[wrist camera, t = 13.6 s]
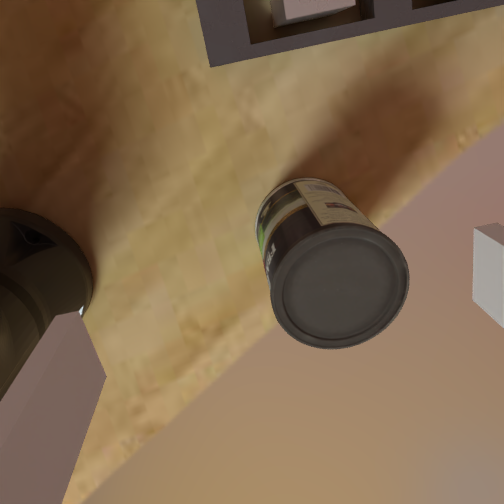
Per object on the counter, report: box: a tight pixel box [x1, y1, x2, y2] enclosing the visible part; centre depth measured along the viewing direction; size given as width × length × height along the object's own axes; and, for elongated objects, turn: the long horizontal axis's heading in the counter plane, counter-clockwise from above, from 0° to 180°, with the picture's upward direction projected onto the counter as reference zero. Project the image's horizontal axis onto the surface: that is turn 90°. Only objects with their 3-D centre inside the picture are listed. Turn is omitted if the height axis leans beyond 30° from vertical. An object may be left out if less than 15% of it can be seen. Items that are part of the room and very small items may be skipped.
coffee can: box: [255, 178, 409, 349], centre depth 38 cm, size 10×10×14 cm
